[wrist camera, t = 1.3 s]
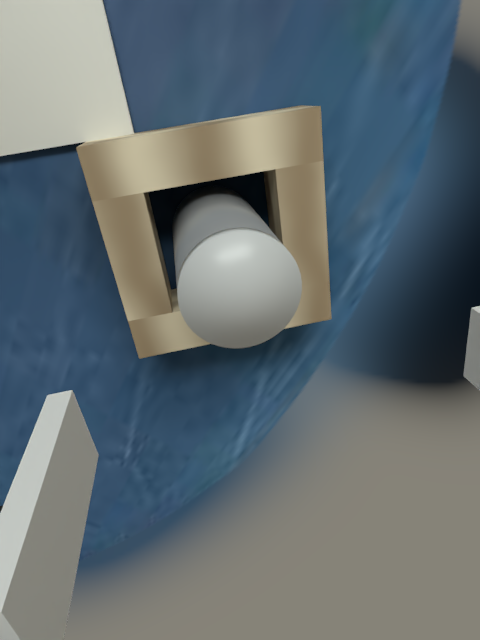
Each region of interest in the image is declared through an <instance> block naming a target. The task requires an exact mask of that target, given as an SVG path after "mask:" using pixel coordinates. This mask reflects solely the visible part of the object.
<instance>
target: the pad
mask: <svg viewBox="0 0 480 640" xmlns="http://www.w3.org/2000/svg"><path fill="white" fill-rule="evenodd" d="M130 134H134V130H133V126H132V122H131V118H130V113H129V109H128V105H127V101H126V97H125V92H124V88H123V84H122V80H121V76H120V71H119V67H118V63H117V59H116V54H115V50H114V46H113V42H112V38H111V33H110V29H109V25H108V21H107V17H106V12H105V8H104V4H103V0H0V156H4V155H10V154H16V153H22V152H28V151H34V150H40V149H46V148H52V147H58V146H64V145H70V144H76V143H82V142H88V141H94V140H100V139H106V138H112V137H118V136H124V135H130Z"/></svg>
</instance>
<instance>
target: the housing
mask: <svg viewBox="0 0 480 640" xmlns="http://www.w3.org/2000/svg"><path fill="white" fill-rule="evenodd" d="M76 149H77V152H78V156H79V159H80V162H81V166H82V169H83V172H84V176H85V179H86V183H87V186H88V189H89V193H90V196H91V199H92V203H93V206H94V209H95V213H96V216H97V219H98V223H99V226H100V229H101V233H102V236H103V239H104V243H105V246H106V249H107V253H108V256H109V259H110V263H111V266H112V269H113V273H114V276H115V279H116V283H117V286H118V289H119V293H120V296H121V299H122V303H123V306H124V309H125V313H126V316H127V319H128V323H129V326H130V329H131V333H132V336H133V339H134V343H135V346H136V349H137V353H138V356H139V359H140V358H145V357H150V356H154V355H159V354H164V353H169V352H174V351H179V350H184V349H188V348H193V347H198V346H203V345H208V344H211V343H209V342H207V341H205V340H203V339H202V338H200V337H199V336H198V335H196V334H195V333H194V332H193V331H192V330H191V329H190V328H189V326H188V325H187V323H186V322H185V320H184V318H183V316H182V314H181V311H180V308H179V304H178V296H177V289H172V290H171V286H170V282H169V278H168V274H167V269H166V265H165V261H164V257H163V253H162V248H161V244H160V240H159V236H158V231H157V227H156V223H155V219H154V215H153V210H152V206H151V202H150V198H149V194H148V192H150V191H156V190H161V189H167V188H173V187H178V186H184V185H189V184H195V183H201V182H206V181H212V180H218V179H223V178H229V177H235V176H240V175H246V174H251V173H257V172H263V174H264V183H265V192H266V201H267V210H268V219H269V227H270V229H271V231H272V232H273V233H274V234H275V235H276V237H277V238H278V239H279V240H280V241H281V243H282V244H283V245H284V246H285V247H286V249H287V250H288V251H289V252H290V253H291V255H292V256H293V258H294V259H295V261H296V263H297V265H298V267H299V271H300V274H301V280H302V293H301V299H300V302H299V305H298V308H297V310H296V312H295V314H294V316H293V318H292V319H291V320H290V322H289V323H288V324H287V325H286V327H285V328H284V329H286V328H290V327H295V326H300V325H305V324H310V323H315V322H320V321H324V320H329V319H331V303H330V283H329V263H328V243H327V223H326V203H325V183H324V163H323V143H322V123H321V106H295V107H289V108H283V109H277V110H271V111H265V112H259V113H253V114H247V115H241V116H235V117H229V118H223V119H217V120H211V121H205V122H199V123H193V124H187V125H181V126H175V127H169V128H163V129H157V130H151V131H145V132H139V133H134V134H130V135H124V136H118V137H112V138H106V139H100V140H94V141H88V142H85V143H83V144H81V145H79V146H78V147H76Z"/></svg>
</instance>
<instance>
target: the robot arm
mask: <svg viewBox="0 0 480 640" xmlns="http://www.w3.org/2000/svg"><path fill="white" fill-rule="evenodd" d="M464 377H465V378H466V379H467V380H469V381H470V382H471V383H472V384H473V385H474V386H475V387H476V388H477V389H478V390H479V391H480V306H478V307H473V308H471V316H470V325H469V333H468V342H467V350H466V359H465V367H464ZM97 460H98V453H97V450H96V448H95V445H94V443H93V440H92V438H91V435H90V433H89V430H88V428H87V425H86V423H85V420H84V418H83V415H82V413H81V410H80V408H79V405H78V403H77V400H76V398H75V395H74V393H73V390H70V391H65V392H61V393H56V394H51V395H47V398H46V400H45V403H44V405H43V408H42V410H41V413H40V415H39V418H38V420H37V423H36V425H35V428H34V430H33V433H32V435H31V438H30V440H29V443H28V445H27V448H26V450H25V453H24V455H23V458H22V460H21V463H20V465H19V468H18V470H17V473H16V475H15V478H14V480H13V483H12V485H11V488H10V490H9V493H8V495H7V498H6V500H5V503H4V505H3V506H0V640H64V635H65V630H66V625H67V619H68V614H69V609H70V604H71V598H72V593H73V588H74V582H75V576H76V572H77V566H78V561H79V556H80V551H81V545H82V540H83V535H84V529H85V524H86V519H87V513H88V508H89V503H90V497H91V492H92V487H93V481H94V476H95V471H96V466H97Z"/></svg>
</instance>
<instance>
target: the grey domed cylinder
mask: <svg viewBox="0 0 480 640" xmlns="http://www.w3.org/2000/svg"><path fill="white" fill-rule="evenodd" d="M172 233H173V246H174V258H175V271H176V284H177V296H178V304H179V308H180V311H181V314H182V316H183V318H184V320H185V322H186V323H187V325H188V326H189V328H190V329H191V330H192V331H193V332H194V333H195V334H196V335H198V336H199V337H200V338H202V339H203V340H205V341H207V342H209V343H211V344H214V345H217V346H220V347H225V348H246V347H251V346H255V345H258V344H261V343H263V342H265V341H267V340H269V339H271V338H272V337H274V336H275V335H277V334H278V333H279V332H280V331H282V330H283V329H284V328H285V327H286V325H287V324H288V323H289V322H290V320H291V319H292V318H293V316H294V314H295V312H296V310H297V308H298V305H299V302H300V299H301V293H302V280H301V274H300V271H299V267H298V265H297V263H296V261H295V259H294V258H293V256H292V255H291V253H290V252H289V251H288V250H287V249H286V247H285V246H284V245H283V244H282V243H281V241H280V240H279V239H278V238H277V237H276V235H275V234H274V233H273V232H272V231H271V229H270V228H269V227H268V226H267V225H266V224H265V222H264V221H263V220H262V219H261V218H260V216H259V215H258V214H257V213H256V212H255V210H254V209H253V208H252V207H251V206H250V204H249V203H248V202H247V201H246V200H245V199H244V198H243V197H242V196H241V195H240V194H239V193H237V192H236V191H234V190H232V189H230V188H227V187H224V186H213V185H212V186H205V187H201V188H199V189H196V190H195V191H193V192H191V193H190V194H188V195H187V196H186V197H185V198H184V199H183V200H182V201H181V203H180V204H179V205H178V207H177V209H176V211H175V214H174V217H173V223H172Z"/></svg>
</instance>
